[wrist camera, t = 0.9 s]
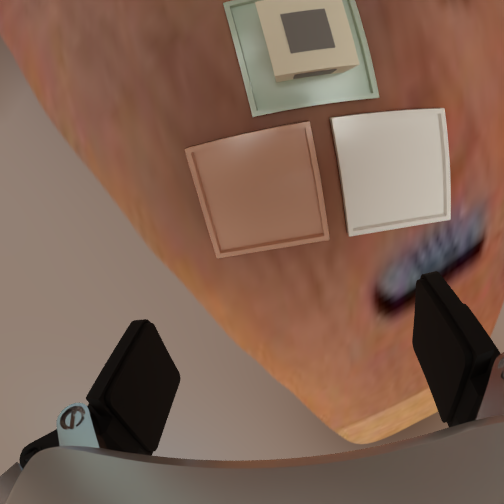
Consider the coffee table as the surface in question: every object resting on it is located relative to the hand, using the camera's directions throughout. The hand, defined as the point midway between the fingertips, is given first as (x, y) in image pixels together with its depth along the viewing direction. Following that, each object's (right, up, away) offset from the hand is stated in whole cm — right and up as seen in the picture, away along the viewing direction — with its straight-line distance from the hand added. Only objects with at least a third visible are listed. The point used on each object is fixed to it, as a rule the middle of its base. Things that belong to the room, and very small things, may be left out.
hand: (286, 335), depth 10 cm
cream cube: (+2, +18, +8) cm, 20 cm away
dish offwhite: (+10, +9, +12) cm, 18 cm away
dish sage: (+2, +18, +9) cm, 20 cm away
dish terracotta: (0, +8, +14) cm, 16 cm away
